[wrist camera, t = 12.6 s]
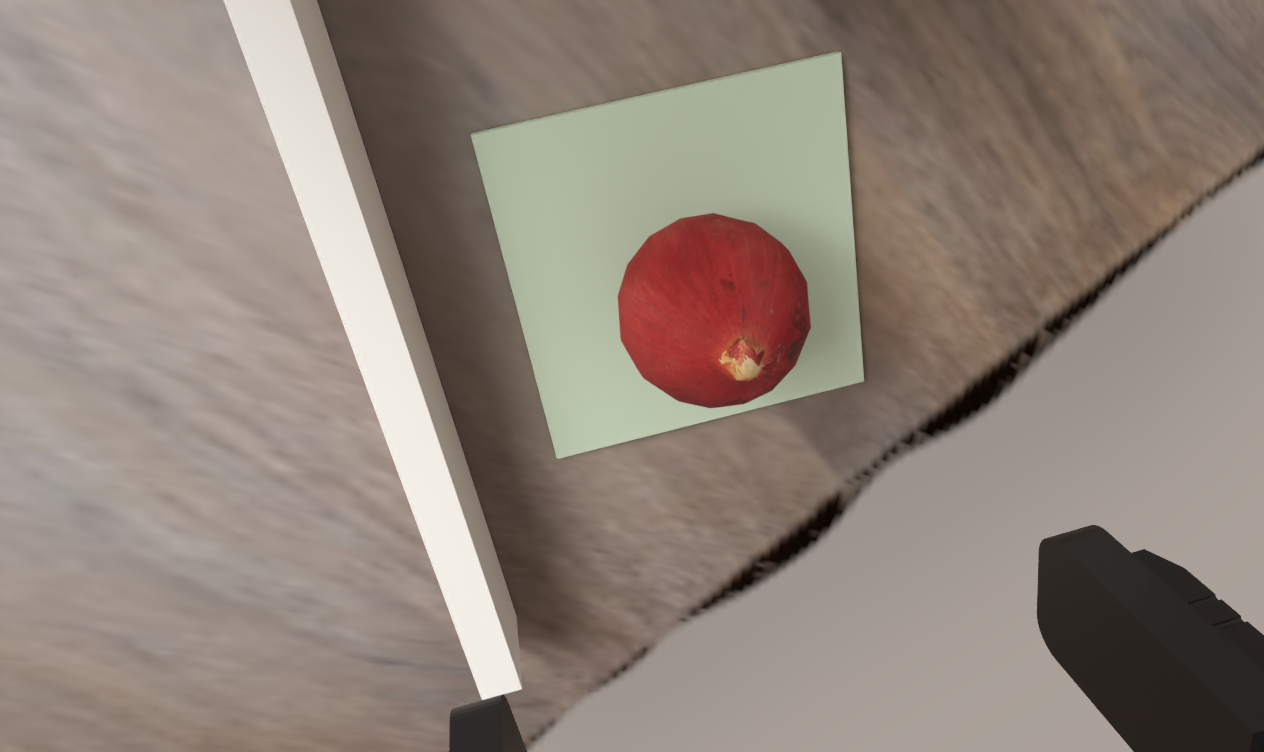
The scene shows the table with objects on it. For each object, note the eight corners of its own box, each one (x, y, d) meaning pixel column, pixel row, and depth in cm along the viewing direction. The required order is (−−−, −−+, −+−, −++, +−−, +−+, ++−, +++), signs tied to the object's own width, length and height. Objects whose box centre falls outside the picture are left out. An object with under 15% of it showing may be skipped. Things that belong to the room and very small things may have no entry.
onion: (790, 212, 29) (894, 293, 22) (734, 362, 32) (813, 480, 24) (629, 169, 28) (686, 241, 21) (582, 331, 30) (619, 446, 23)
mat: (470, 133, 27) (470, 135, 27) (836, 51, 28) (841, 52, 27) (555, 453, 32) (556, 459, 32) (859, 376, 33) (864, 381, 33)
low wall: (230, -87, 23) (187, -97, 20) (285, -98, 24) (253, -110, 20) (480, 625, 35) (482, 700, 32) (516, 615, 35) (522, 689, 32)
